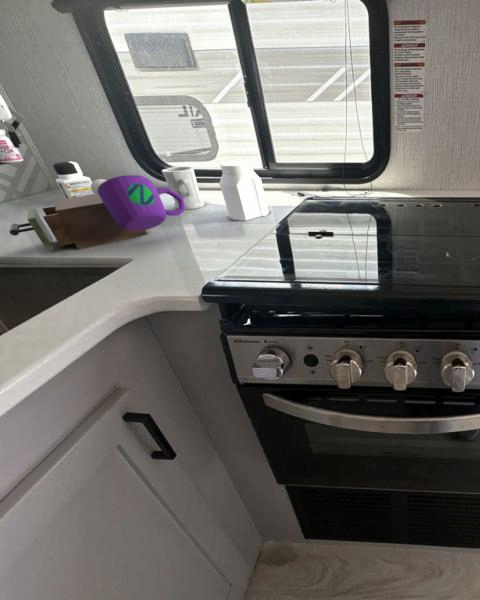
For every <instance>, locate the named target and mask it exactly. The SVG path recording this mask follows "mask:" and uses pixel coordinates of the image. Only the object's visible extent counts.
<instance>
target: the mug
mask: <svg viewBox="0 0 480 600" xmlns="http://www.w3.org/2000/svg"><path fill="white" fill-rule="evenodd" d="M106 180H107V181H105V182H103V183H102V184H101V185H100V186H99V187H98V194H99V196H100V198H101V199H102V201H103V203H104V205H105V206H106V208H107V210H108V211H109V213H110V215H111V216H112V218H113V219H114V220H115V222H116V223H117V224H118V225H119V226H120V227H121V228H123V229H125V230H129V231H141V230H146V231H147V230H150V229H153V228H156V227H158V226H160V225H161V224H163V223H164V222H165V221H166V219H167V216H168V217H169V216H170V217H171V216H173V217H174V216H179V215H182V214H183V213H184V212H185V211H186V210H185V203H184V200H183V198H182V197H181V196H180V195H178V194H177V193H175V192H174V191H172V190H170V188H166V187H161V188H156V186H155V184H154V183H153V181H152V180H151V179H150V178H148V177H146V176H144V175H143V176H142V175H136V174H127V175H119V176H115V177H111V178H109V179H106ZM164 194H167V195H169V196H171V197H172V198H173V197H174V198H175V199H177V200H178V202H179V209H177V208H176V209H173V210H172V209H171V210H170V209H166V208H165V205H164V203H163V201H162V199H161V196H160V195H164ZM174 198H173V199H174Z"/></svg>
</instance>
